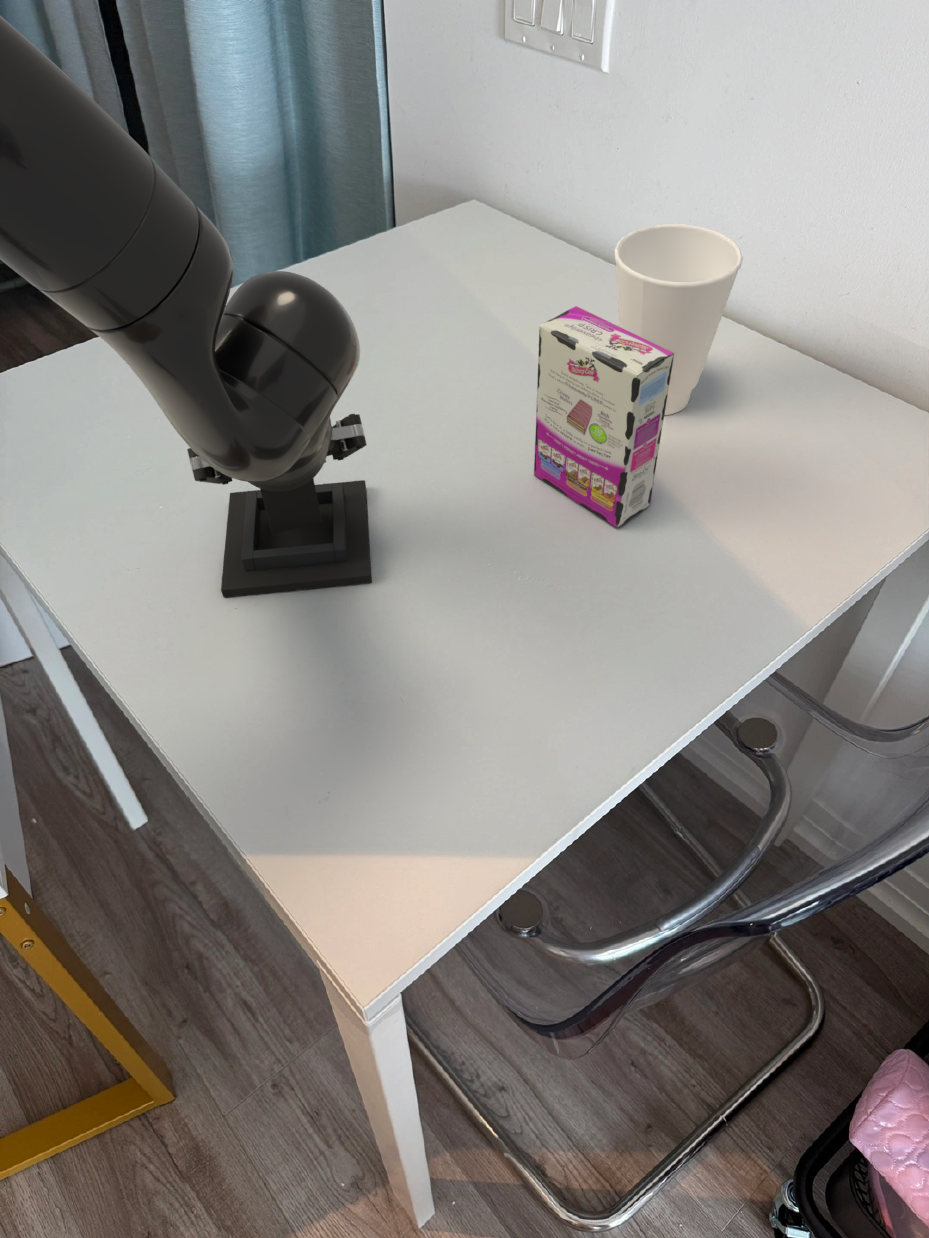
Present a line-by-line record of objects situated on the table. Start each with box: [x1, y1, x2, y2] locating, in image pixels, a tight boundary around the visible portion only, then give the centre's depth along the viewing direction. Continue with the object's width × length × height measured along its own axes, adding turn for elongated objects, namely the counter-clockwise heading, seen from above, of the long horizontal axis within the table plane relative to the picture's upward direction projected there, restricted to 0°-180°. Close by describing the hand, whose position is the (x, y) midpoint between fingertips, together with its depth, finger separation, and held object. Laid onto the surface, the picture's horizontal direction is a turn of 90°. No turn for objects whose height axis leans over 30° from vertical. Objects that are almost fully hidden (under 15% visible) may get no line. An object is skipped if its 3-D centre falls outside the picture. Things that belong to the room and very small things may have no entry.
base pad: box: [220, 479, 373, 598], centre depth 83 cm, size 13×13×2 cm
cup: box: [614, 223, 744, 416], centre depth 91 cm, size 12×12×16 cm
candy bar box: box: [533, 305, 675, 528], centre depth 81 cm, size 11×5×16 cm, turn 43°
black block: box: [259, 478, 322, 534], centre depth 78 cm, size 4×4×8 cm
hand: (281, 463), depth 79 cm, fingers closed on black block, 4 cm apart
